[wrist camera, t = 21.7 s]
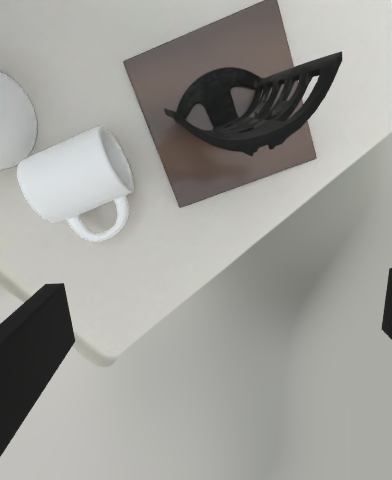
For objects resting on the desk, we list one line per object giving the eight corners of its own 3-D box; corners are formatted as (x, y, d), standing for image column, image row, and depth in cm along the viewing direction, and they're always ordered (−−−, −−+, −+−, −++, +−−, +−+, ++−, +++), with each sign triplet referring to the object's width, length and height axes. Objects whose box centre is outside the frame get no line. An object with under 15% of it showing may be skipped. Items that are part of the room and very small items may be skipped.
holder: (248, 45, 34) (318, -34, 16) (277, 109, 37) (365, 105, 18) (163, 100, 36) (138, 88, 18) (196, 157, 39) (204, 198, 20)
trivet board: (124, 62, 36) (122, 61, 35) (274, -3, 34) (276, -5, 33) (180, 207, 41) (179, 208, 40) (315, 158, 39) (316, 158, 38)
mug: (41, 158, 39) (2, 161, 31) (112, 126, 38) (89, 121, 30) (86, 242, 42) (60, 263, 35) (152, 216, 41) (141, 232, 33)
